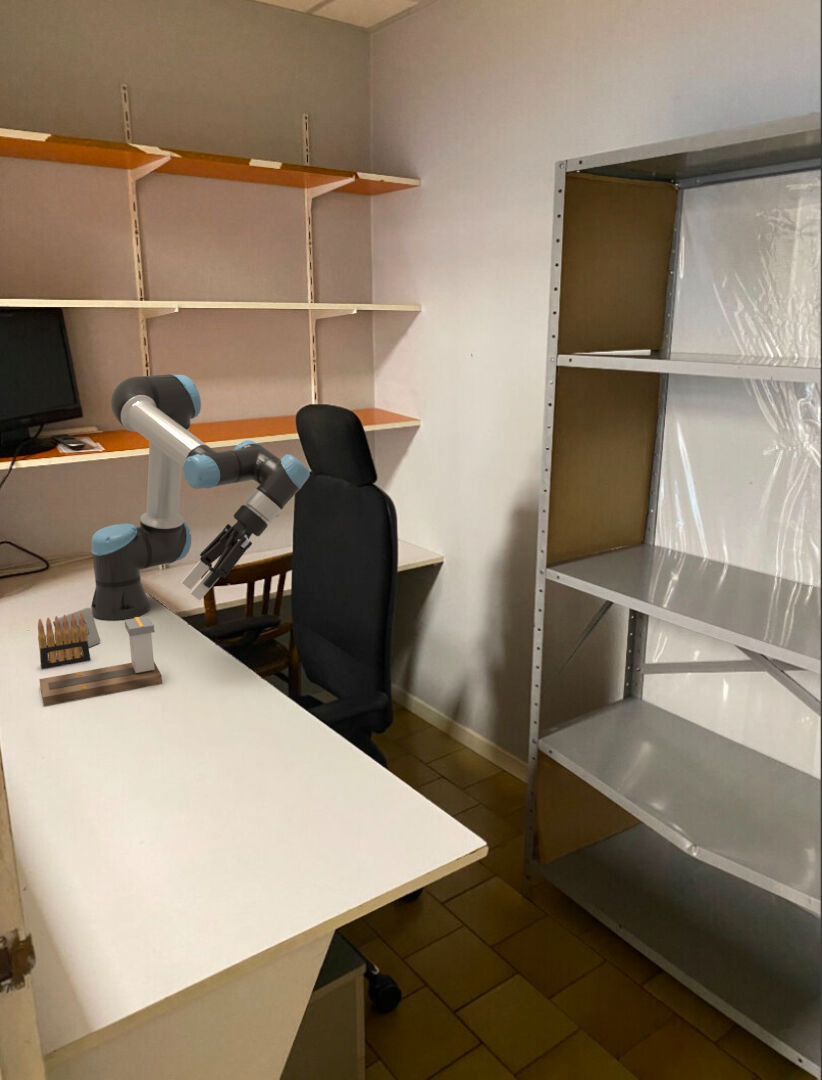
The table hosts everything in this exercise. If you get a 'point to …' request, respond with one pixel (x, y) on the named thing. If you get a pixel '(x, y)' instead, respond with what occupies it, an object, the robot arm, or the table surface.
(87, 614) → the electrical switch
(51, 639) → the ammunition clip
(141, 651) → the fader tab
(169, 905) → the table surface
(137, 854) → the table surface
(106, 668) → the fader console
